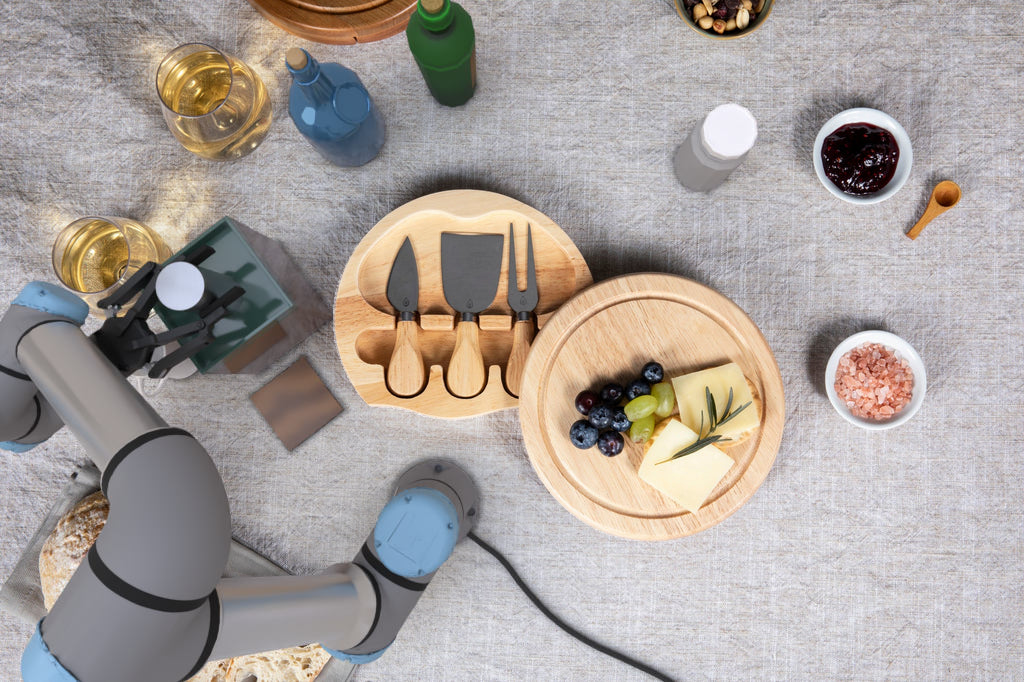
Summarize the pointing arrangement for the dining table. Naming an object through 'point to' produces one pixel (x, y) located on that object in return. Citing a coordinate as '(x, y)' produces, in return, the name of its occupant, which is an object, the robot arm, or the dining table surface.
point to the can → (193, 288)
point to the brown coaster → (296, 403)
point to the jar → (715, 147)
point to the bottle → (444, 50)
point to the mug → (176, 372)
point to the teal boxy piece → (250, 302)
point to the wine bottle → (333, 110)
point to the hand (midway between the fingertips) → (225, 268)
